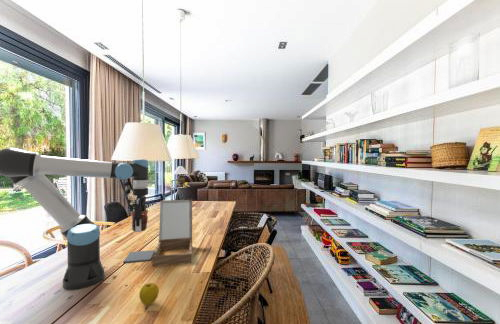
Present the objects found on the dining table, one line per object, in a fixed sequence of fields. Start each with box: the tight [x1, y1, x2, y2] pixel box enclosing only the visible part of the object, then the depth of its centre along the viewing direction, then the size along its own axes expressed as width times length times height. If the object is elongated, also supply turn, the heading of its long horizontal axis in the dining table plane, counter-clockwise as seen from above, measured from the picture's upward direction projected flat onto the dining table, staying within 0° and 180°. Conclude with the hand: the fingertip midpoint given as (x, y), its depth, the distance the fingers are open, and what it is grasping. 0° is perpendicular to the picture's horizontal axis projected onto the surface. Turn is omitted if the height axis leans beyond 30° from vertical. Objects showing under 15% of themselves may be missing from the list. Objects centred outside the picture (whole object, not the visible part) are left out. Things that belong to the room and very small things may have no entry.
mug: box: [130, 209, 149, 232], centre depth 131 cm, size 12×9×10 cm
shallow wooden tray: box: [151, 237, 193, 267], centre depth 134 cm, size 23×19×6 cm
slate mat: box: [123, 249, 155, 264], centre depth 132 cm, size 13×13×1 cm
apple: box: [138, 282, 160, 306], centre depth 89 cm, size 6×6×8 cm
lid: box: [158, 199, 193, 241], centre depth 149 cm, size 23×19×1 cm
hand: (140, 229), depth 131 cm, fingers closed on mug, 9 cm apart
